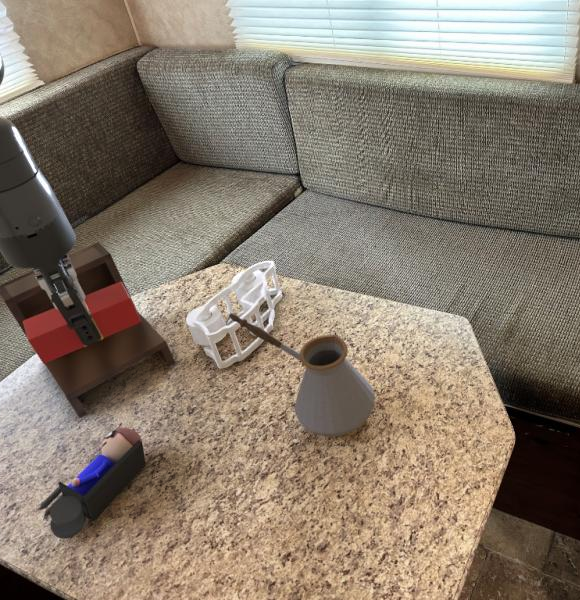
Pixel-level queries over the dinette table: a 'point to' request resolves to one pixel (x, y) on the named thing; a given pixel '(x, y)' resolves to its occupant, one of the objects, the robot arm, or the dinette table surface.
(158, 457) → the dinette table surface
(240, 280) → the car outline toy
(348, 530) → the dinette table surface
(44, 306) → the shelf rack
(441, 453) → the dinette table surface
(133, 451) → the character figurine
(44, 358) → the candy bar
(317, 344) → the coffee pot
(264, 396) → the dinette table surface
